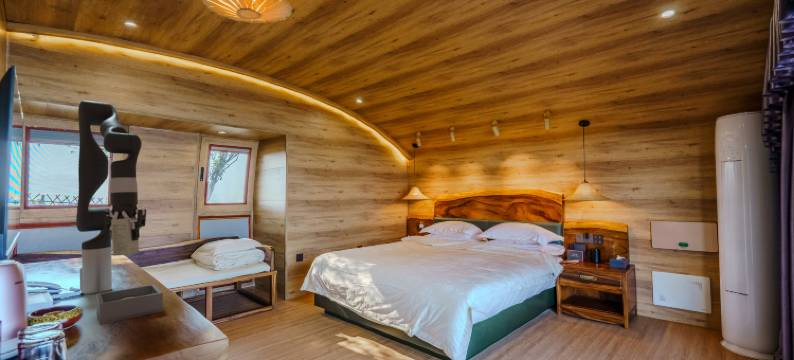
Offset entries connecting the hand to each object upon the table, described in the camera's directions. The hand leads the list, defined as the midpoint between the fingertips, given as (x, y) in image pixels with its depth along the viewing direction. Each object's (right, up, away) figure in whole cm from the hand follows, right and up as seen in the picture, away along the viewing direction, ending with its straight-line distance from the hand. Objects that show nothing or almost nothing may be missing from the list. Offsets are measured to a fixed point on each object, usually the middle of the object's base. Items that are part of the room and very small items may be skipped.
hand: (125, 240), depth 127 cm
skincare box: (0, -5, 0) cm, 5 cm away
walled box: (+5, -22, -5) cm, 23 cm away
